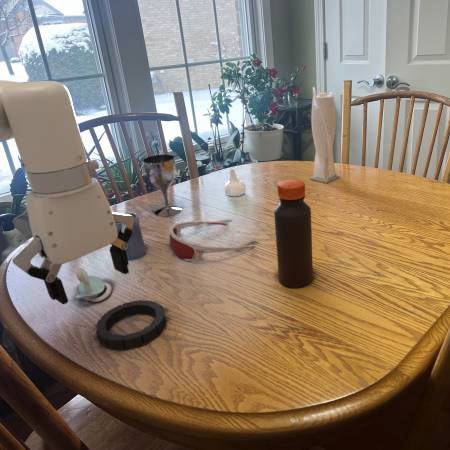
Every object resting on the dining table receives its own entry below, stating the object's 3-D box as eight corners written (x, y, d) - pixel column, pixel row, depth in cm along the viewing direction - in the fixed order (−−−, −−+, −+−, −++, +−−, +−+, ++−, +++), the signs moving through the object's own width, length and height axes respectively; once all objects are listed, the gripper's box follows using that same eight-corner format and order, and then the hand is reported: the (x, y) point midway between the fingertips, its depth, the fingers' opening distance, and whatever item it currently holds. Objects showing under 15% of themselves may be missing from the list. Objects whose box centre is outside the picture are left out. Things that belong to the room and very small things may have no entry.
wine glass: (148, 211, 121) (137, 159, 115) (174, 203, 126) (165, 152, 119) (161, 219, 116) (150, 165, 109) (188, 211, 120) (179, 158, 114)
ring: (122, 359, 67) (119, 349, 67) (86, 333, 74) (84, 323, 73) (179, 323, 75) (177, 314, 74) (142, 302, 81) (140, 293, 80)
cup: (128, 263, 95) (119, 226, 91) (113, 256, 98) (104, 219, 94) (151, 252, 99) (143, 216, 95) (136, 246, 102) (128, 210, 98)
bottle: (316, 285, 84) (313, 188, 75) (281, 291, 83) (275, 192, 74) (308, 268, 90) (305, 176, 81) (276, 272, 89) (269, 179, 80)
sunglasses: (159, 240, 104) (159, 220, 102) (225, 233, 113) (226, 215, 111) (183, 271, 90) (184, 249, 89) (256, 260, 99) (258, 239, 98)
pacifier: (113, 283, 88) (81, 288, 86) (107, 255, 85) (74, 260, 84) (110, 303, 82) (75, 308, 80) (103, 274, 79) (67, 279, 77)
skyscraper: (306, 178, 141) (302, 88, 129) (321, 172, 147) (319, 85, 135) (326, 183, 136) (325, 90, 124) (341, 176, 142) (341, 86, 130)
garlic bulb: (248, 190, 133) (246, 164, 130) (243, 197, 128) (240, 171, 124) (228, 189, 134) (225, 164, 131) (222, 197, 129) (219, 171, 125)
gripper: (106, 157, 67) (130, 255, 74) (-22, 192, 55) (22, 305, 62) (133, 164, 63) (156, 267, 70) (1, 204, 51) (45, 323, 58)
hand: (93, 285), depth 66 cm, fingers open, 9 cm apart
